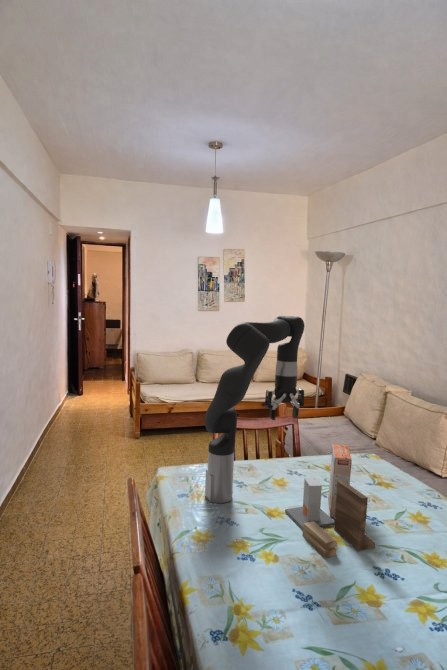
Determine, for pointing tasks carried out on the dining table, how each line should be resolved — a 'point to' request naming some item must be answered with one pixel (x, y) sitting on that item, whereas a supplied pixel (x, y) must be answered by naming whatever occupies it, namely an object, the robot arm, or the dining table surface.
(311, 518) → the skincare box
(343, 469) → the cracker box
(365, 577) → the dining table surface
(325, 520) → the slate pad
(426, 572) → the dining table surface
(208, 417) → the robot arm
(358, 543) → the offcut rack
